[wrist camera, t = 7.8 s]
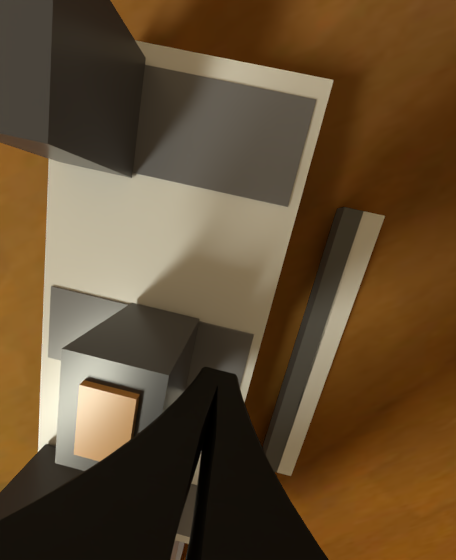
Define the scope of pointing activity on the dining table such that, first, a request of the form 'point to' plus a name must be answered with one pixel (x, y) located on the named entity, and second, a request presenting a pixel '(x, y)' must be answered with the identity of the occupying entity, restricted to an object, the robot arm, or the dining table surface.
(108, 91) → the white panel with blocks
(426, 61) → the dining table surface
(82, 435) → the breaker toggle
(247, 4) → the dining table surface
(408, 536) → the dining table surface
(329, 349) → the long grey stick
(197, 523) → the robot arm
